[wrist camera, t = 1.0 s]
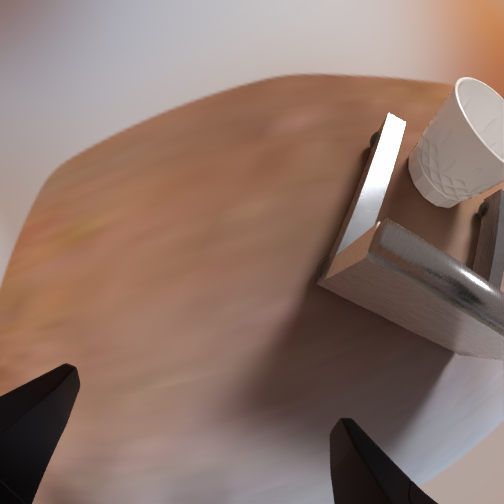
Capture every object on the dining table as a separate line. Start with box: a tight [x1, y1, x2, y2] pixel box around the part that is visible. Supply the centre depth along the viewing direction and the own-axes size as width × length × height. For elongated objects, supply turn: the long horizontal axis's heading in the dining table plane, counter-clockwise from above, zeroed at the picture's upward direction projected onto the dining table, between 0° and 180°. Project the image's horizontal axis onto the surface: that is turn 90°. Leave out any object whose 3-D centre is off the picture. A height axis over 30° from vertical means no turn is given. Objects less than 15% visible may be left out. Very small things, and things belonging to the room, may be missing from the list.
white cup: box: [408, 77, 504, 208], centre depth 18 cm, size 8×8×10 cm
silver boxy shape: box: [316, 113, 504, 360], centre depth 16 cm, size 15×15×12 cm
